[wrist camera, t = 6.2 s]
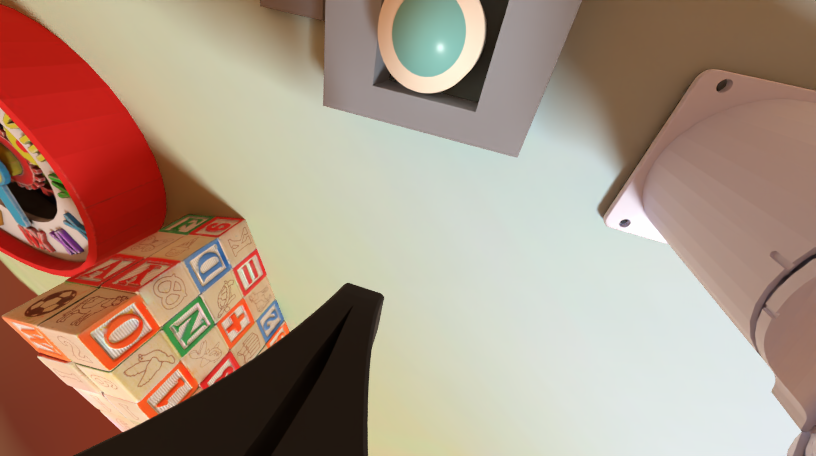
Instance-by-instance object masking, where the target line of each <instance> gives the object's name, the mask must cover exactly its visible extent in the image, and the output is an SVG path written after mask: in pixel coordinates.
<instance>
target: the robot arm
mask: <svg viewBox="0 0 816 456" xmlns="http://www.w3.org/2000/svg"><path fill="white" fill-rule="evenodd" d="M724 79H726V80H727V84H726V86H725V87H724V88H723V89H722V90H720V91H717V90H716V87H717V84H718V83H719V82H721V81H722V80H724ZM624 219H628V221H627V222H626V223H624V224H619V223H620V221H622V220H624ZM603 220H604V223H605V224H606V225H607V226H608V227H610V228H613V229H617V230H620V231H624V232H627V233H631V234H634V235H638V236H641V237H645V238H648V239H652V240H655V241H659V242H662V243H666V244H669V245H670V246H671V247H672V249H673V250H674V251H675V252H676V254H677V255H678V256H679V257H680V258H681V260H682V261H683V262H684V263H685V265H686V266H687V267H688V268H689V269H690V271H691V272H692V273H693V274H694V276H695V277H696V278H697V279H698V280H699V282H700V283H701V284H702V285H703V287H704V288H705V289H706V290H707V291H708V293H709V294H710V295H711V296H712V298H713V299H714V300H715V301H716V302H717V304H718V305H719V306H720V307H721V309H722V310H723V311H724V312H725V313H726V315H727V316H728V317H729V318H730V319H731V321H732V322H733V323H734V324H735V326H736V327H737V328H738V329H739V330H740V332H741V333H742V334H743V335H744V337H745V338H746V339H747V340H748V341H749V343H750V344H751V345H752V346H753V348H754V349H755V350H756V351H757V352H758V353H759V354H760V356H761V357H762V358H763V359H764V361H765V362H766V363H767V365H768V366H769V367H770V368H771V370H772V371H773V372H774V374H775V378H776V381H775V385H774V387H773V389H772V393H773V394H774V396H775V397H776V398H777V400H778V401H779V402H780V404H781V405H782V406H783V407H784V409H785V410H786V411H787V413H788V414H789V415H790V417H791V418H792V419H793V420H794V422H795V423H796V424H797V426H798V427H799V428H800V430H801V431H802V432H801V433H800V434H799V435H798V436H797V437H796V438H795V440H794V441H793V443H792V444H791V446H790V448H789V449H788V453H787V456H816V91H815V90H811V89H806V88H801V87H797V86H792V85H788V84H783V83H779V82H774V81H769V80H765V79H760V78H756V77H751V76H747V75H742V74H737V73H733V72H728V71H724V70H719V69H709V70H706V71H703V72H702V73H700V74H699V75H698V76H697V77H696V78H695V79H694V81H693V82H692V84H691V85H690V87H689V88H688V90H687V91H686V93H685V94H684V96H683V97H682V99H681V100H680V102H679V103H678V105H677V106H676V108H675V109H674V111H673V112H672V114H671V115H670V117H669V118H668V120H667V122H666V123H665V125H664V126H663V128H662V129H661V131H660V132H659V134H658V135H657V137H656V138H655V140H654V141H653V143H652V144H651V146H650V147H649V149H648V150H647V152H646V153H645V155H644V156H643V158H642V159H641V161H640V162H639V164H638V165H637V167H636V168H635V170H634V171H633V173H632V174H631V176H630V177H629V179H628V180H627V182H626V183H625V185H624V186H623V188H622V189H621V191H620V192H619V194H618V195H617V197H616V198H615V200H614V201H613V203H612V204H611V206H610V207H609V209H608V210H607V212H606V213H605V215H604V217H603ZM383 300H384V296H383V295H382V294H381V293H378V292H374V291H371V290H368V289H365V288H362V287H359V286H356V285H353V284H350V283H347V284H344V285H343V286H342V287H341V288H340V289H339V290H338V291H337V292H336V293H335V294H334V295H333V296H332V297H331V298H330V299H329V300H328V301H327V302H326V303H324V304H323V305H322V306H321V307H320V308H319V309H318V310H317V311H315V312H314V313H313V314H312V315H311V316H309V317H308V318H307V319H306V320H304V321H303V322H302V323H301V324H300V325H298V326H297V327H296V328H295V329H293V330H292V331H291V332H289V333H288V334H287V335H285V336H284V337H283V338H281V339H280V340H279V341H277V342H276V343H275V344H273V345H272V346H271V347H269V348H268V349H267V350H265V351H264V352H262V353H261V354H259V355H258V356H256V357H255V358H254V359H252V360H251V361H249V362H247V363H246V364H244V365H243V366H241V367H240V368H238V369H237V370H235V371H234V372H232V373H230V374H229V375H227V376H225V377H224V378H222V379H220V380H219V381H217V382H215V383H214V384H212V385H211V386H209V387H207V388H205V389H204V390H202V391H200V392H199V393H197V394H195V395H193V396H192V397H190V398H188V399H186V400H184V401H182V402H180V403H179V404H177V405H175V406H173V407H171V408H169V409H167V410H165V411H163V412H162V413H160V414H158V415H156V416H154V417H152V418H150V419H148V420H147V421H145V422H143V423H141V424H139V425H137V426H135V427H133V428H131V429H129V430H127V431H124V432H122V433H120V434H118V435H116V436H114V437H112V438H110V439H108V440H105V441H103V442H101V443H99V444H97V445H95V446H93V447H91V448H89V449H87V450H84V451H82V452H80V453H78V454H76V455H74V456H368V427H367V421H368V385H369V369H370V358H371V350H372V345H373V342H374V339H375V336H376V333H377V330H378V325H379V320H380V315H381V310H382V305H383Z"/></svg>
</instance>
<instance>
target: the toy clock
mask: <svg viewBox="0 0 816 456" xmlns="http://www.w3.org/2000/svg"><path fill="white" fill-rule="evenodd" d="M166 210H167V208H166V193H165V189H164V184H163V180H162V176H161V173H160V171H159V168H158V165H157V163H156V160H155V158H154V155H153V153H152V152H151V150H150V148H149V146H148V144H147V142H146V140H145V138H144V136H143V134H142V133H141V131H140V129H139V128H138V126H137V125H136V123H135V122H134V120H133V118H132V117H131V115H130V114H129V112H128V111H127V109H126V108H125V107H124V106H123V104H122V103H121V102H120V100H119V99H118V98H117V96H116V95H115V94H114V93H113V91H112V90H111V89H110V87H109V86H108V85H107V84H106V83H105V82H104V81H103V80H102V79H101V78H100V76H99V75H98V74H97V73H96V72H95V71H94V70H93V69H92V68H91V67H90V66H89V65H88V63H87V62H85V61H84V60H83V59H82V58H81V57H80V56H79V55H78V54H77V53H76V52H74V51H73V50H72V49H71V48H70V47H69V46H68V45H67V44H66V43H65V42H63V41H62V40H61V39H59V38H58V37H57V36H55V35H54V34H53V33H51V32H50V31H49V30H47V29H46V28H45V27H43V26H42V25H40V24H39V23H37V22H36V21H34V20H32V19H30V18H29V17H27V16H25V15H24V14H22V13H20V12H18V11H17V10H15V9H12V8H10V7H7V6H4V5H2V4H0V251H1V252H3V253H5V254H7V255H9V256H10V257H12V258H14V259H16V260H18V261H20V262H22V263H24V264H26V265H29V266H31V267H33V268H35V269H38V270H41V271H44V272H47V273H50V274H53V275H59V276H64V277H72V276H74V275H76V274H78V273H80V272H83V271H84V270H85V269H87V268H89V267H91V266H93V265H95V264H97V263H98V262H100V261H102V260H104V259H106V258H108V257H110V256H112V255H114V254H117V253H118V252H120V251H122V250H124V249H126V248H127V247H129V246H131V245H133V244H135V243H137V242H139V241H140V240H142V239H144V238H146V237H148V236H150V235H152V234H154V233H156V232H158V231H159V230H160V229H161V227H162V225H163V223H164V220H165V215H166Z"/></svg>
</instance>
